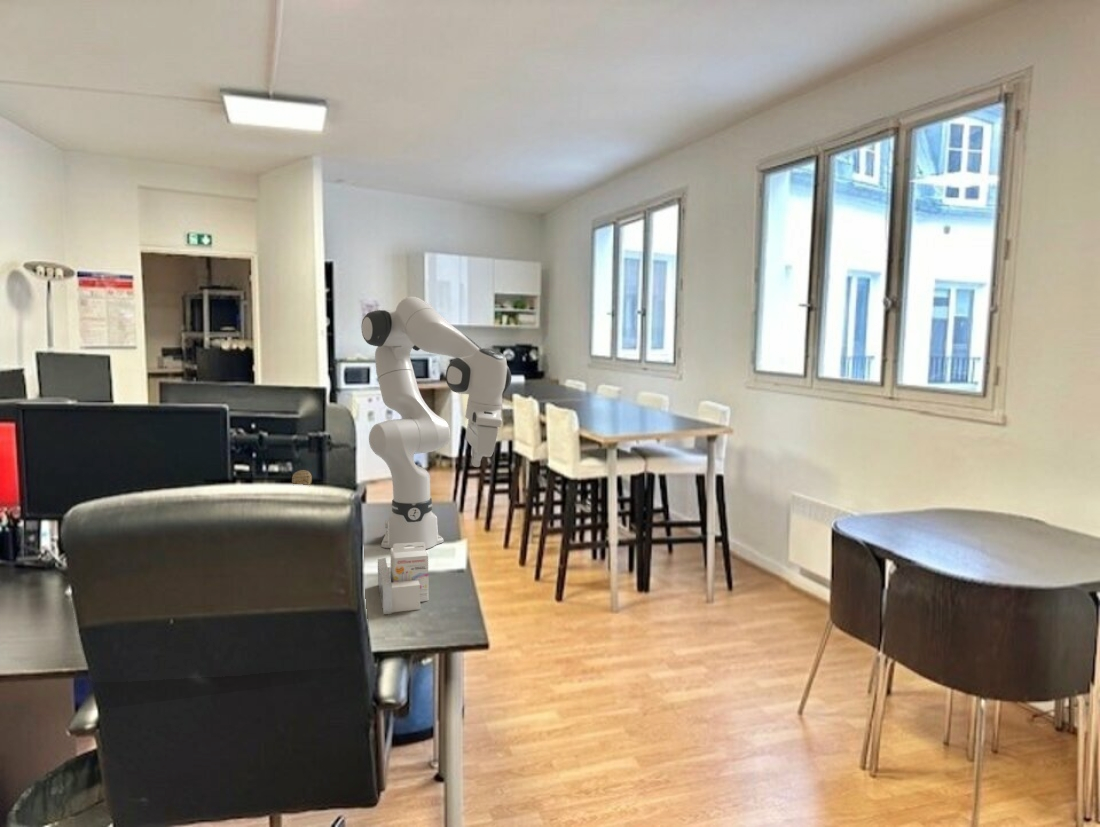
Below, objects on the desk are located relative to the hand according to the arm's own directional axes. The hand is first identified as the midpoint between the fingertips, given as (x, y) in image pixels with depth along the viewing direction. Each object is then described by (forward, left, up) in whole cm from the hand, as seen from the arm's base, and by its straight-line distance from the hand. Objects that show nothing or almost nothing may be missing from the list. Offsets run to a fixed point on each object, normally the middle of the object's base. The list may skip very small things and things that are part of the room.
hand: (475, 465), depth 187 cm
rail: (+6, -24, -31) cm, 40 cm away
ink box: (+6, -18, -31) cm, 37 cm away
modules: (+6, -20, -31) cm, 37 cm away
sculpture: (-10, -43, -31) cm, 54 cm away
